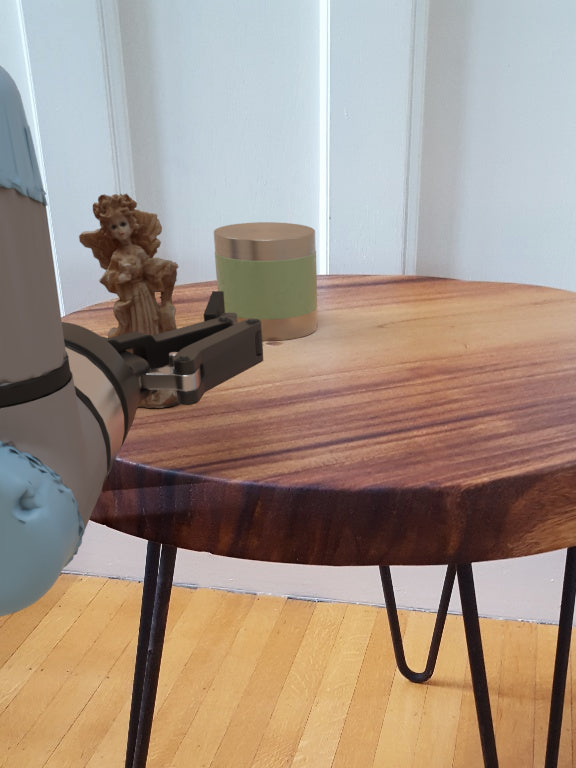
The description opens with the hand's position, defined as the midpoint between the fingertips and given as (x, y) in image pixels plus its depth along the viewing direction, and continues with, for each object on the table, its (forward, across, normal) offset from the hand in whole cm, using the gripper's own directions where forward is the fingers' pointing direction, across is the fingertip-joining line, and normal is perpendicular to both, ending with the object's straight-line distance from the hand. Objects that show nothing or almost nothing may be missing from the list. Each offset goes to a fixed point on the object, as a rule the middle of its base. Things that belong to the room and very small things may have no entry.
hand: (121, 311), depth 66 cm
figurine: (+7, 0, -9) cm, 11 cm away
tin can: (+29, +9, -8) cm, 32 cm away
